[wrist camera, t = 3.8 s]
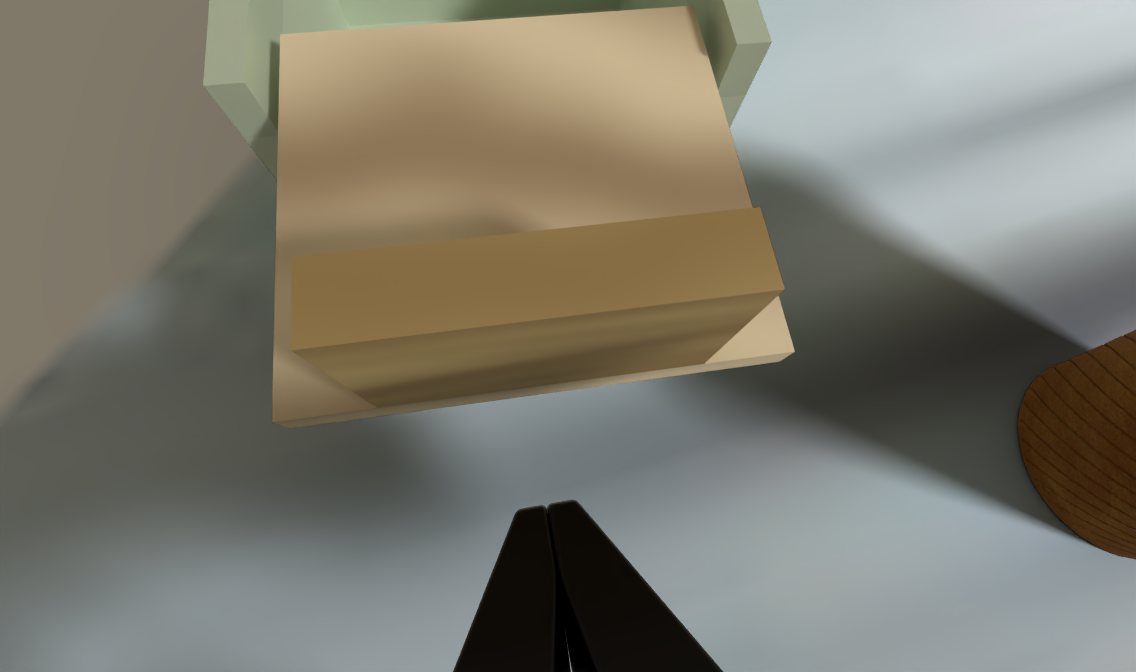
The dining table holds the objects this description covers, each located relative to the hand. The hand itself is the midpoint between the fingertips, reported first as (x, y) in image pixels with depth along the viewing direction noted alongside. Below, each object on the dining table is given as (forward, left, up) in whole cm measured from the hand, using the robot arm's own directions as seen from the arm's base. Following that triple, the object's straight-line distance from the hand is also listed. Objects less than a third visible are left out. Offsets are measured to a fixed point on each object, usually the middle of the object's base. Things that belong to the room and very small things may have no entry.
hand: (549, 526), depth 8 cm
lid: (+7, 0, -2) cm, 7 cm away
